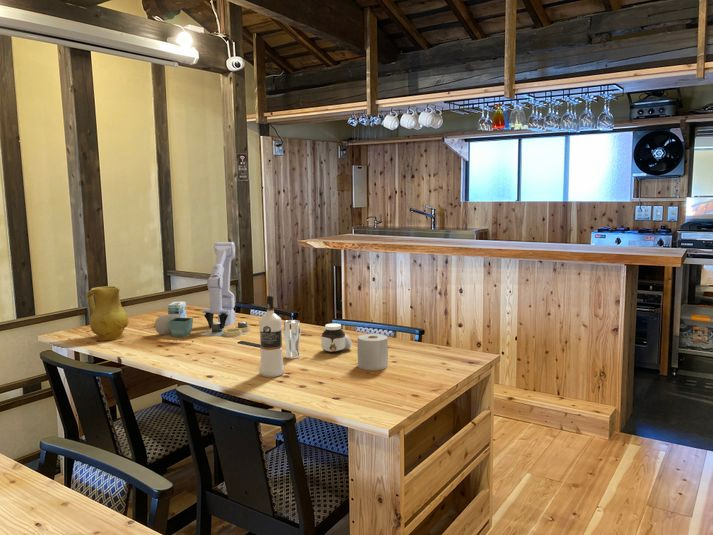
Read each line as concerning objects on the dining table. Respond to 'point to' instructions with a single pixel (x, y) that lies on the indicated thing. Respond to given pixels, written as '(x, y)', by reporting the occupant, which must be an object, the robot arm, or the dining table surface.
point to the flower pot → (181, 326)
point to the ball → (163, 324)
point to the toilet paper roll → (372, 351)
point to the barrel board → (231, 331)
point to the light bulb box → (177, 310)
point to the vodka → (271, 342)
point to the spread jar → (335, 339)
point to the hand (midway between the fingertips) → (216, 328)
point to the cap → (216, 327)
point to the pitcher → (106, 313)
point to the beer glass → (292, 338)
